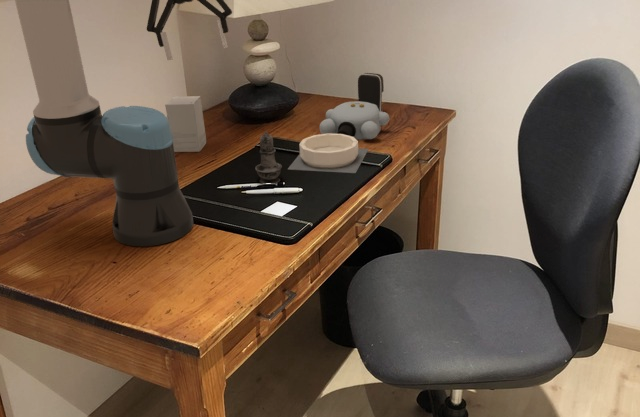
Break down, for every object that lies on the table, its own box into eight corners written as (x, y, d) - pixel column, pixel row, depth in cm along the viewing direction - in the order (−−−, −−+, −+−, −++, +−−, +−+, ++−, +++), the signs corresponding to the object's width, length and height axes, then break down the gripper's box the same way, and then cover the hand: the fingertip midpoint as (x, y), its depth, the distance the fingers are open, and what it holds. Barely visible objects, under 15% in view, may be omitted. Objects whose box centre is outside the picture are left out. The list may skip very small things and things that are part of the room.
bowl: (351, 170, 152) (350, 154, 150) (294, 167, 155) (293, 151, 153) (362, 150, 163) (362, 134, 162) (309, 147, 167) (308, 132, 165)
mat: (355, 174, 150) (355, 172, 150) (287, 170, 154) (287, 169, 154) (368, 150, 164) (368, 148, 164) (306, 147, 168) (306, 145, 168)
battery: (385, 112, 193) (385, 73, 188) (379, 116, 190) (379, 76, 185) (363, 109, 196) (362, 71, 191) (357, 113, 193) (356, 74, 188)
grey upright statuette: (286, 177, 151) (282, 126, 145) (278, 188, 145) (274, 135, 140) (261, 176, 152) (257, 125, 147) (252, 186, 147) (247, 134, 142)
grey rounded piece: (334, 120, 187) (311, 151, 171) (332, 91, 183) (308, 120, 167) (395, 123, 182) (377, 156, 166) (394, 94, 177) (376, 124, 161)
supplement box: (207, 142, 175) (201, 95, 170) (200, 152, 168) (193, 103, 163) (179, 142, 176) (173, 95, 171) (171, 152, 169) (164, 104, 164)
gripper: (229, -49, 157) (250, 42, 162) (126, -26, 158) (150, 64, 163) (225, -53, 150) (247, 42, 155) (118, -29, 151) (143, 65, 156)
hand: (197, 54), depth 159 cm, fingers open, 13 cm apart
